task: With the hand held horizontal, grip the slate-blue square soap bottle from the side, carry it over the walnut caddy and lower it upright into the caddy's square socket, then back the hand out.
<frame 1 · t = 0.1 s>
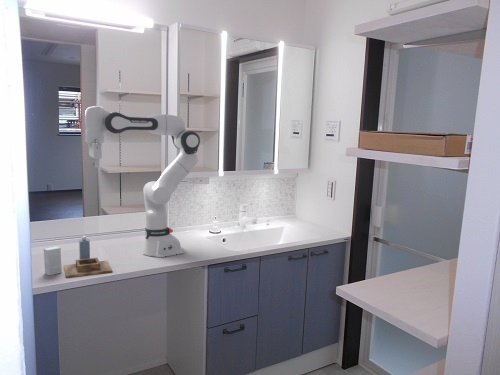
hand: (95, 166, 207), 48 cm above the counter, tool pointing down, fingers open, 8 cm apart
soap bottle: (84, 261, 209), on the counter
skincare box: (53, 273, 191), on the counter
bottle caddy: (87, 269, 197), on the counter
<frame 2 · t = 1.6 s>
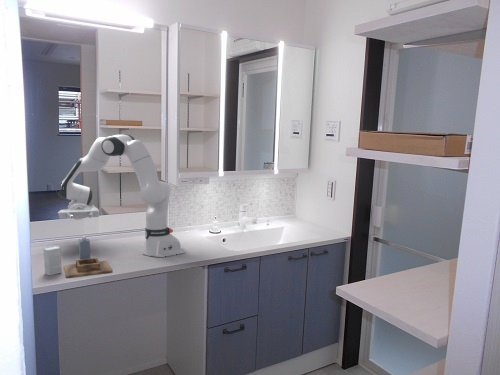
hand: (80, 216, 217), 21 cm above the counter, tool horizontal, fingers open, 8 cm apart
nothing on the counter moved.
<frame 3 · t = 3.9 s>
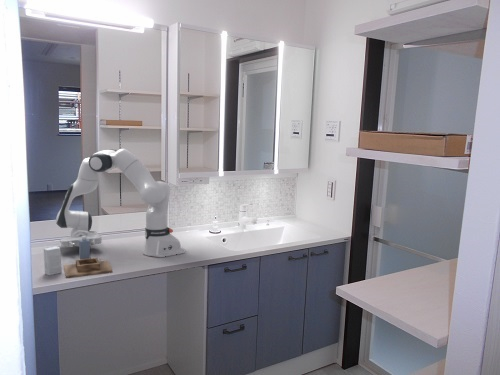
hand: (82, 244, 216), 6 cm above the counter, tool horizontal, fingers open, 8 cm apart
nothing on the counter moved.
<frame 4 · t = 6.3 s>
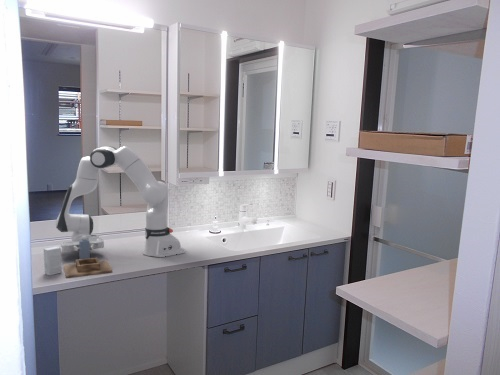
hand: (84, 249, 208), 7 cm above the counter, tool horizontal, fingers closed on soap bottle, 4 cm apart
soap bottle: (84, 261, 209), on the counter, touching gripper
everything else where it was.
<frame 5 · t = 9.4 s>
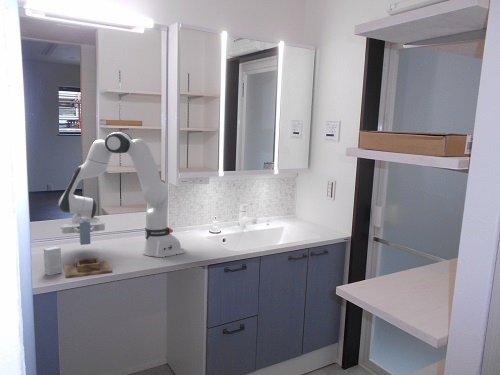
hand: (85, 230, 203), 17 cm above the counter, tool horizontal, fingers closed on soap bottle, 4 cm apart
soap bottle: (85, 243, 205), point 10 cm above the counter, touching gripper
everything else where it was.
when the fingers open (9 cm above the counter, at t = 12.6 s): soap bottle drops 1 cm, resting on bottle caddy.
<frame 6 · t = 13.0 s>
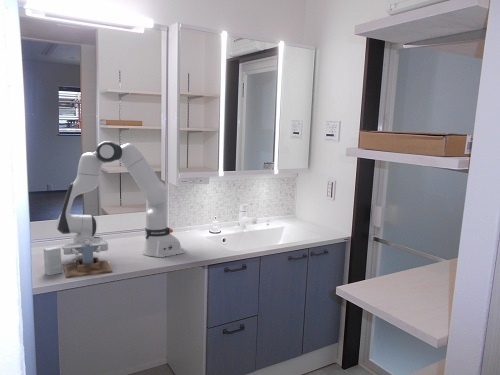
hand: (87, 251, 195), 9 cm above the counter, tool horizontal, fingers open, 8 cm apart
soap bottle: (87, 267, 197), point 1 cm above the counter, touching bottle caddy
everything else where it was.
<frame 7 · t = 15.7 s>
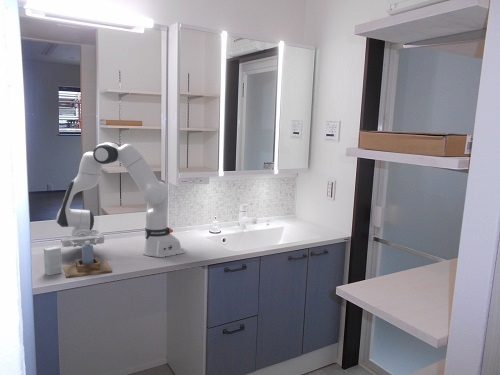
hand: (84, 244, 207), 9 cm above the counter, tool horizontal, fingers open, 8 cm apart
nothing on the counter moved.
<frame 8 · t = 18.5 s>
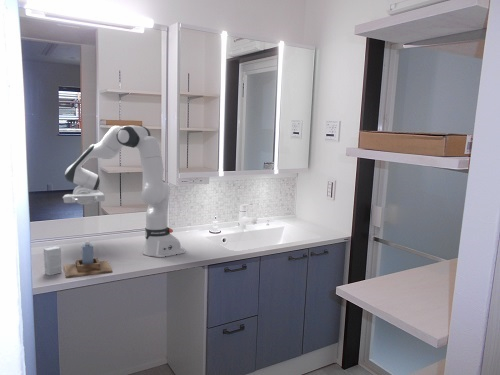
hand: (85, 200, 213), 30 cm above the counter, tool horizontal, fingers open, 8 cm apart
nothing on the counter moved.
at the end: soap bottle 0.0 cm off-centre on the bottle caddy, point 1.0 cm above the bottle caddy's base; soap bottle tilted 0°; the gripper is holding nothing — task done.
